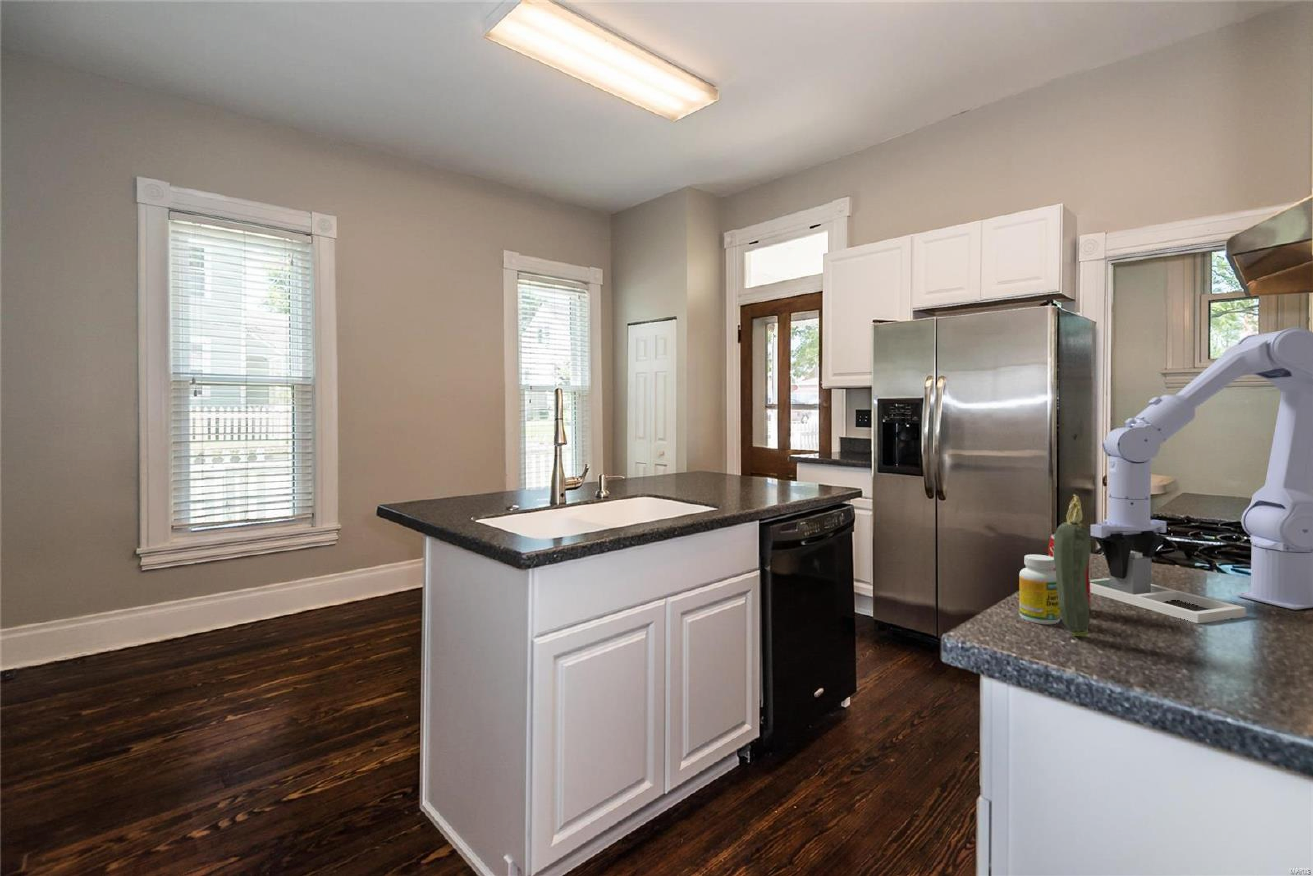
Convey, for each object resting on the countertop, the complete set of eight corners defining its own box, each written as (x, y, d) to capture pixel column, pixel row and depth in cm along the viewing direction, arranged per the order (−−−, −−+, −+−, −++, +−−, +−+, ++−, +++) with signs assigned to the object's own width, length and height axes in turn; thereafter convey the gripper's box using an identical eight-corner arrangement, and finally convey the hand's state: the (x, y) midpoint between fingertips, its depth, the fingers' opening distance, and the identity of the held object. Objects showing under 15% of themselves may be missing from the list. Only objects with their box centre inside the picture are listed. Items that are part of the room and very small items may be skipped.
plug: (1126, 586, 107) (1127, 548, 107) (1150, 593, 103) (1151, 553, 103) (1109, 588, 106) (1110, 550, 106) (1132, 595, 102) (1133, 555, 102)
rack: (1121, 584, 111) (1121, 576, 111) (1245, 616, 93) (1245, 607, 93) (1078, 588, 108) (1078, 581, 108) (1197, 623, 90) (1197, 614, 90)
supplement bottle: (1029, 611, 97) (1030, 551, 97) (1067, 620, 92) (1067, 557, 92) (1012, 618, 94) (1012, 556, 94) (1050, 627, 89) (1050, 563, 89)
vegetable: (1078, 644, 83) (1079, 498, 82) (1046, 634, 87) (1046, 494, 86) (1096, 638, 85) (1098, 495, 84) (1064, 629, 89) (1064, 492, 88)
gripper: (1137, 492, 110) (1136, 567, 111) (1074, 496, 106) (1073, 573, 107) (1180, 497, 103) (1178, 577, 104) (1114, 502, 100) (1113, 584, 100)
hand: (1128, 576), depth 105 cm, fingers closed on plug, 4 cm apart
